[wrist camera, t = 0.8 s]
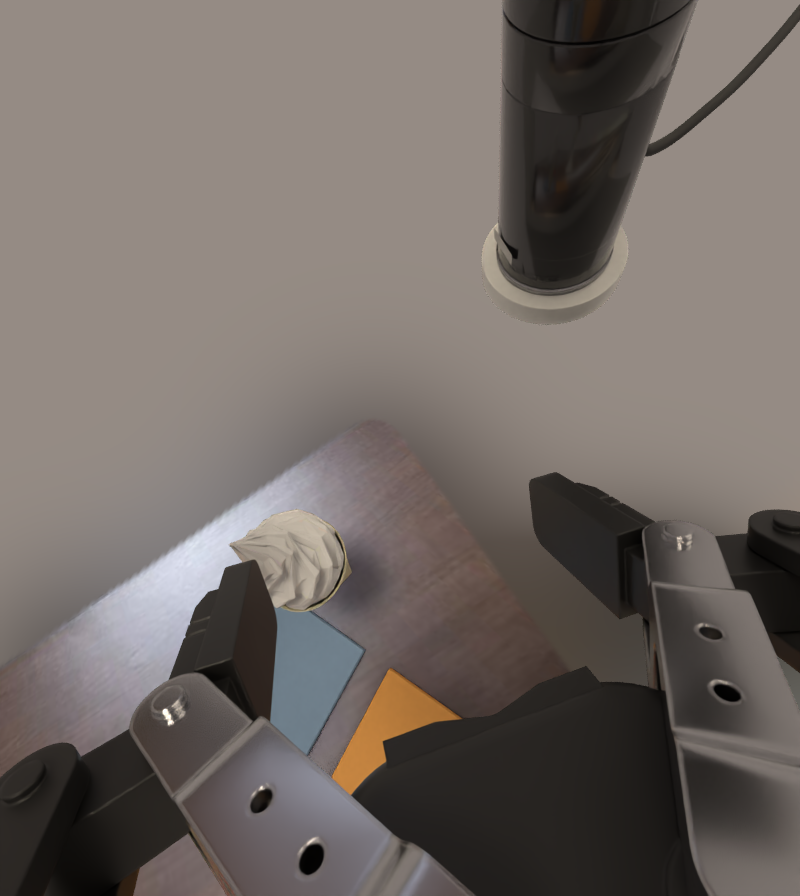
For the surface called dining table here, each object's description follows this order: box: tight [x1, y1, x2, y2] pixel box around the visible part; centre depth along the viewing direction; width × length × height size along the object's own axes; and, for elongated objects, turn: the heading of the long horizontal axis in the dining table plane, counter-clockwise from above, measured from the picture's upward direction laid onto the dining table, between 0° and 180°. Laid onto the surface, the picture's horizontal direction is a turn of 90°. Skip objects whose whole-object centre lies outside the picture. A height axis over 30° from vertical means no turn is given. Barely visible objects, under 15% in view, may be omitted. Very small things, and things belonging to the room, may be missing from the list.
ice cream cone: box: [229, 509, 352, 612], centre depth 24 cm, size 5×5×15 cm
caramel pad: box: [331, 668, 462, 795], centre depth 24 cm, size 14×11×1 cm
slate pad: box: [270, 607, 365, 756], centre depth 29 cm, size 14×11×1 cm
